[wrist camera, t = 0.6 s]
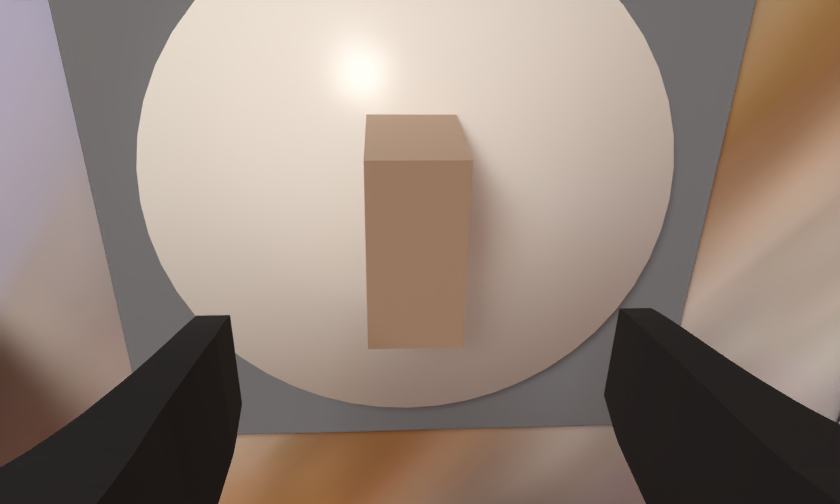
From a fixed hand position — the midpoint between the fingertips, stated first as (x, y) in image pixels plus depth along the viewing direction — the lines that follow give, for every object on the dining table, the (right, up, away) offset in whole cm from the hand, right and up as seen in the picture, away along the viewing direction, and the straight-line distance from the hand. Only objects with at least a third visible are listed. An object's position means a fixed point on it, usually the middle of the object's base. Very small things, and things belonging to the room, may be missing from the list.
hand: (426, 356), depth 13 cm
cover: (0, +4, +7) cm, 8 cm away
